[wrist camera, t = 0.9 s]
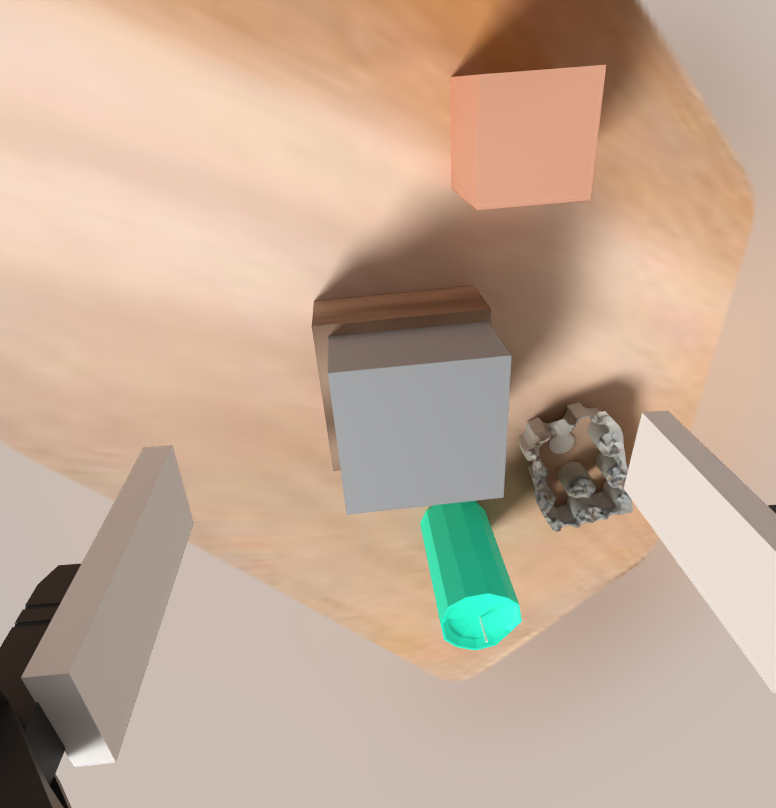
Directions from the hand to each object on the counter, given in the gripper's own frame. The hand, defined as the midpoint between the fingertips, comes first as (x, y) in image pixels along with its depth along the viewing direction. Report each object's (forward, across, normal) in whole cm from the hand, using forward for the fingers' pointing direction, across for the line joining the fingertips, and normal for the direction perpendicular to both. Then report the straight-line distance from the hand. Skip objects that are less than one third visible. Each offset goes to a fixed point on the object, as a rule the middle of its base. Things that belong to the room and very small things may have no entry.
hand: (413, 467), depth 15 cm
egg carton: (+24, +16, -18) cm, 34 cm away
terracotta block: (+23, +8, +7) cm, 26 cm away
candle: (+24, +6, -24) cm, 34 cm away
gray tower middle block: (+19, +2, -8) cm, 21 cm away
